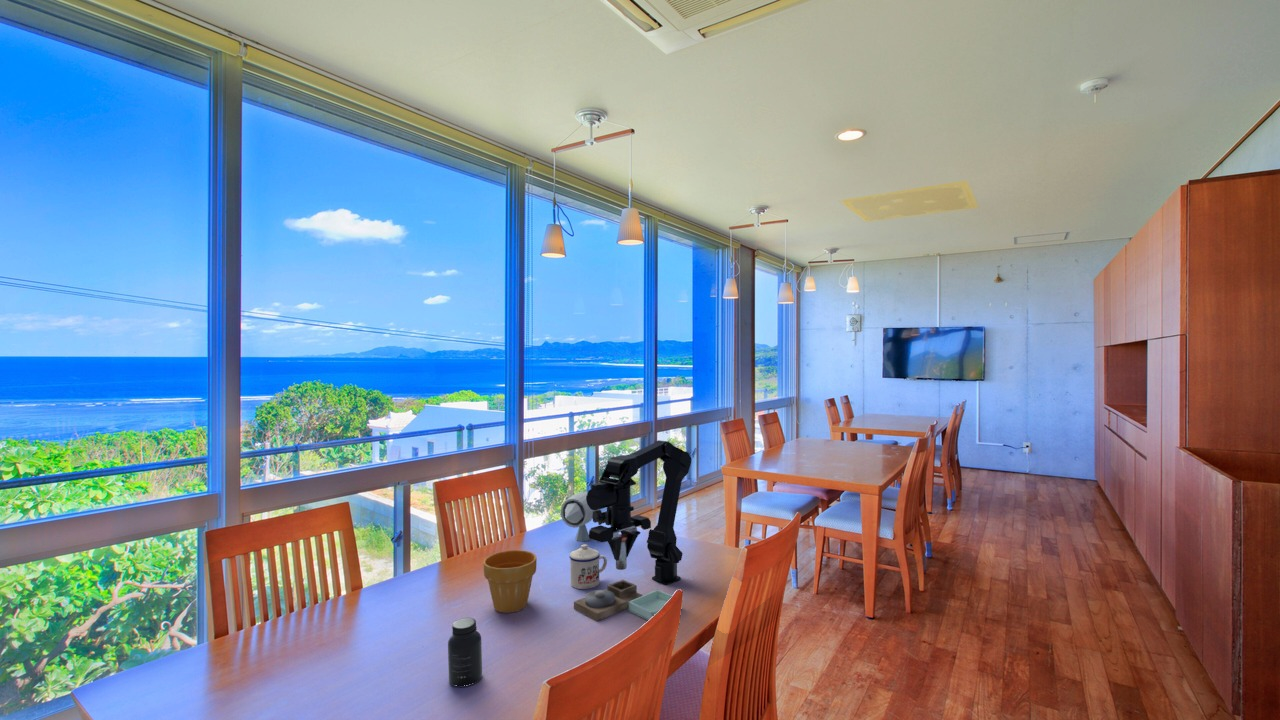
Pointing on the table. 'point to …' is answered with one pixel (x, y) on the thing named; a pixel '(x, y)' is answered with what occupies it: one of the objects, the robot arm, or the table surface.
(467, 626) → the supplement bottle
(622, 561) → the pin
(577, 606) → the block
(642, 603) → the tray
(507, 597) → the flower pot
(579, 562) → the teacup with lid
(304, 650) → the table surface
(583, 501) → the jet engine
